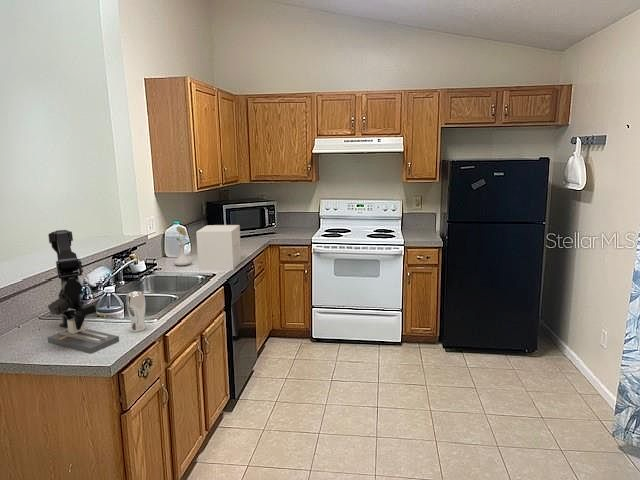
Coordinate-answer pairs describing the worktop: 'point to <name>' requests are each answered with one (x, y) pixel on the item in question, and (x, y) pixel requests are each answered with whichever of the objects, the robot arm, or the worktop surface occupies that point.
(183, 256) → the flower in vase
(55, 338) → the fader console
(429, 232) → the worktop surface
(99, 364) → the worktop surface
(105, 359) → the worktop surface
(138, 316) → the beer glass
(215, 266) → the cube
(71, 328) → the fader knob
